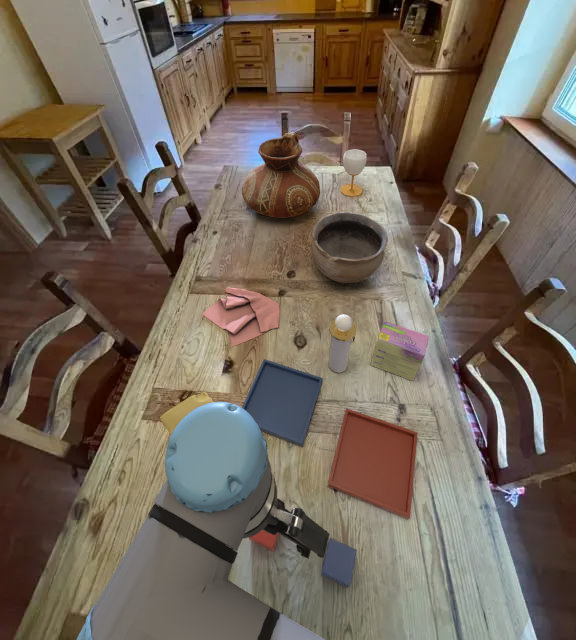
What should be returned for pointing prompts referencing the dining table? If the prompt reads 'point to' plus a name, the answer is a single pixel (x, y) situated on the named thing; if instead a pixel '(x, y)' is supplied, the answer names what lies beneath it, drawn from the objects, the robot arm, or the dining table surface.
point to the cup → (353, 170)
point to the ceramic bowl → (348, 246)
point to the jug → (281, 180)
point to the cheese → (183, 410)
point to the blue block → (339, 563)
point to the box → (399, 350)
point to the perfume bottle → (341, 342)
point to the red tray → (375, 462)
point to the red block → (265, 540)
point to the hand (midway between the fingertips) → (260, 521)
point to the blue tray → (283, 401)
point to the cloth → (244, 314)
